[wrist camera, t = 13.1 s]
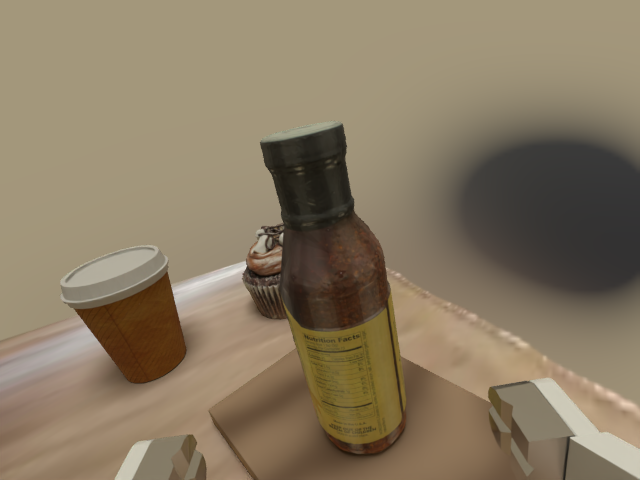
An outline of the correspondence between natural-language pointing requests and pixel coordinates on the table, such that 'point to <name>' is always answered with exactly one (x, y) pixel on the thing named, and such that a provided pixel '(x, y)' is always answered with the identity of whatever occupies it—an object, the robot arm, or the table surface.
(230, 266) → the table surface
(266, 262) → the cupcake
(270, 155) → the sauce bottle
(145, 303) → the disposable coffee cup
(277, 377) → the walnut board
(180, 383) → the table surface
